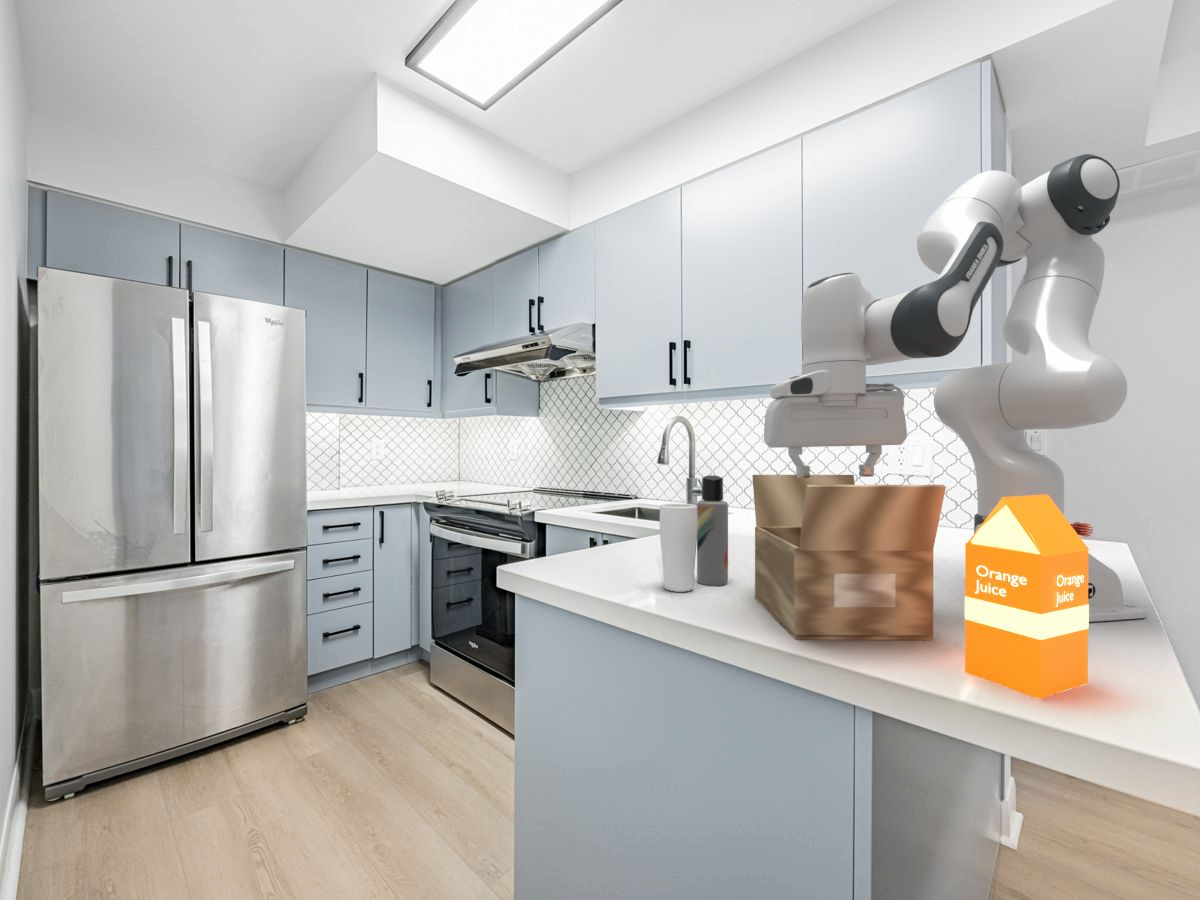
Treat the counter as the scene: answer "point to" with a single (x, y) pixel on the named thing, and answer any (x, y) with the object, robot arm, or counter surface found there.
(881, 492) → the near flap
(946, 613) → the counter surface
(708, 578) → the lotion bottle
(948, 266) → the robot arm
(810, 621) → the carton
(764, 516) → the far flap
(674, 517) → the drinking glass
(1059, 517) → the orange juice
